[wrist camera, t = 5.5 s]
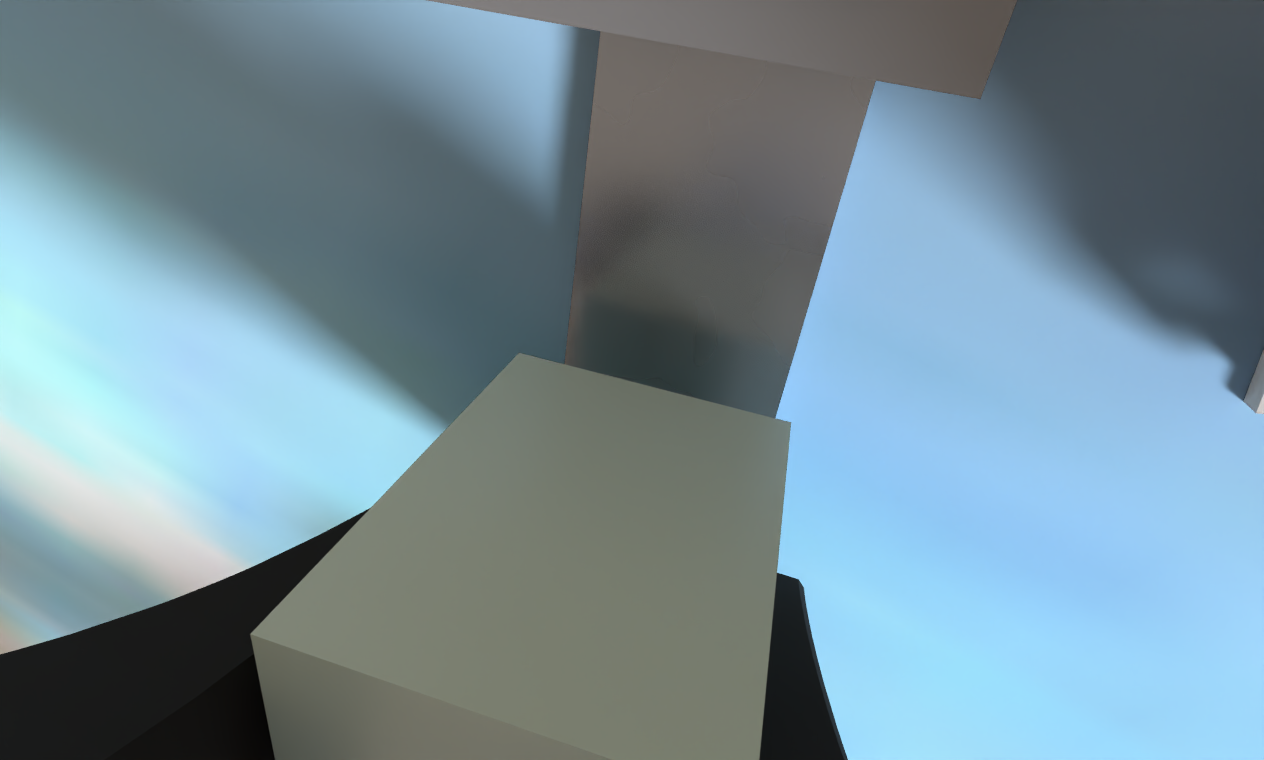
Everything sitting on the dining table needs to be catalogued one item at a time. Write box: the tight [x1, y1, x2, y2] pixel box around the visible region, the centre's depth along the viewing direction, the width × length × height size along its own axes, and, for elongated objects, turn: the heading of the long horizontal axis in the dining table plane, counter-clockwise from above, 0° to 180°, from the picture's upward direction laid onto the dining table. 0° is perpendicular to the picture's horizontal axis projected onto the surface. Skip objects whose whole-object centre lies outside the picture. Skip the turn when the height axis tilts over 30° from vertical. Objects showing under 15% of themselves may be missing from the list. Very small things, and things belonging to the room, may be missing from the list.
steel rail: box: [564, 31, 876, 418], centre depth 14 cm, size 24×4×1 cm, turn 172°
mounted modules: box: [428, 0, 1017, 99], centre depth 11 cm, size 22×5×5 cm, turn 172°
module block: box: [250, 353, 791, 760], centre depth 9 cm, size 5×5×6 cm
